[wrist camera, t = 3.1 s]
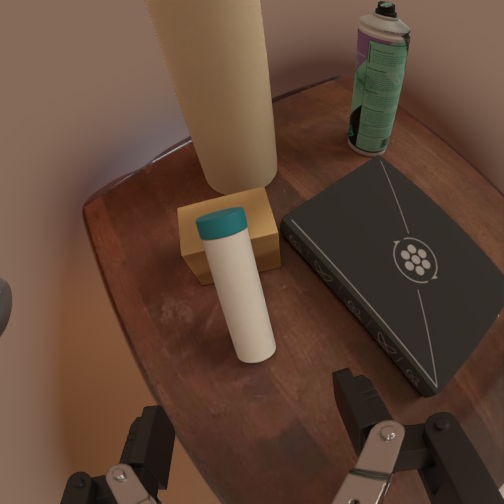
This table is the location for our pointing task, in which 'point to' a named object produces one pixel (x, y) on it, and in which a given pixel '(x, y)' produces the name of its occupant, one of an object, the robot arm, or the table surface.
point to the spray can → (377, 79)
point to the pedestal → (221, 86)
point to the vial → (237, 282)
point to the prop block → (258, 228)
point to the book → (400, 270)
